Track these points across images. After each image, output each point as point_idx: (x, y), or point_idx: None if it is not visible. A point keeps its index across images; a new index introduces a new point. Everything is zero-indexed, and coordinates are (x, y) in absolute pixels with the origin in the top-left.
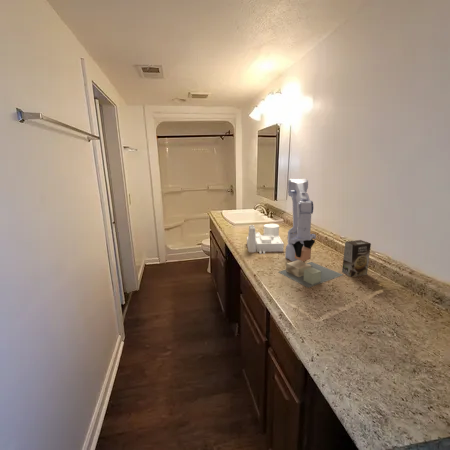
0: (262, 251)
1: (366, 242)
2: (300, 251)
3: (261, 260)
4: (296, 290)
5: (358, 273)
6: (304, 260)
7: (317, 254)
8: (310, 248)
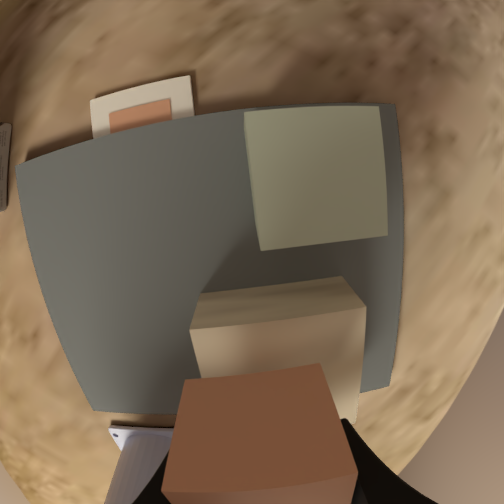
0: None
1: None
2: (378, 473)
3: None
4: (447, 146)
5: None
6: (295, 371)
7: (31, 436)
8: (150, 498)
